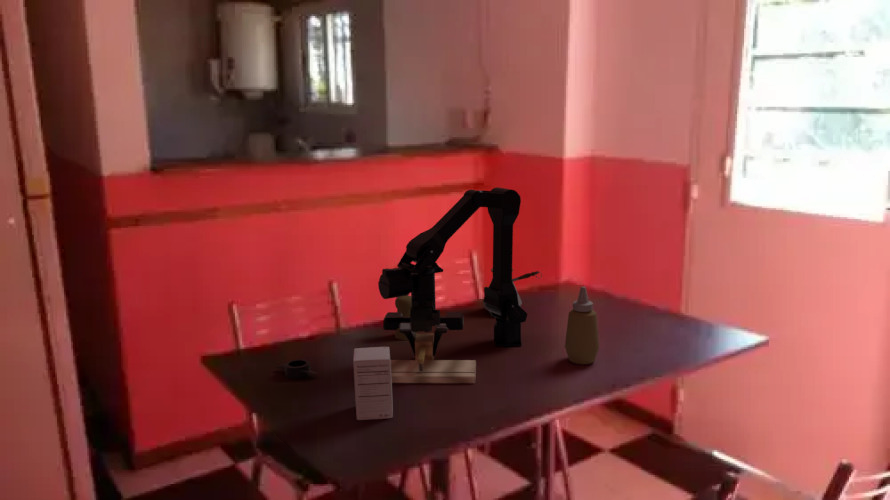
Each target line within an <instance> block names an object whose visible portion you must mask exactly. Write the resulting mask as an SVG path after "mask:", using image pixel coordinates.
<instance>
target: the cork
mask: <svg viewBox="0 0 890 500" xmlns="http://www.w3.org/2000/svg"><path fill="white" fill-rule="evenodd" d="M394 305H395V308H396V312H402V317H410V310H411V295H407V296H401V297H395V301H394ZM399 330H400V327H399V328H398V329H397V330H394V331H395V332H394V338H395V339H396V340H400V341H409V340H408V338H407V337H406V335H405V334H404V333H400V332H399ZM417 333H418V332H415V338H416V336H417Z"/></svg>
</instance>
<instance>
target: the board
mask: <svg viewBox="0 0 890 500" xmlns="http://www.w3.org/2000/svg"><path fill="white" fill-rule="evenodd" d="M390 361H391V378H392V384H476V375H477V374H476V372H477V371H476V370H477V360H476V359H473V360H471V359H462V360H461V359H434V360H424V362H423V371H419V364H418V360H415V359H402V360H401V359H390Z"/></svg>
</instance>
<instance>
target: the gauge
mask: <svg viewBox="0 0 890 500" xmlns="http://www.w3.org/2000/svg"><path fill="white" fill-rule="evenodd" d="M434 334H435V332H434V333H430V332H425V333H423V332H422V333H420V332H419V333H418V332H417V336H416V340H415V355H414V356H415V358H414V360H418V364H419V371H423V362H424V360H435V356H433V344H434Z"/></svg>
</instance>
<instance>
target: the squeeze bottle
mask: <svg viewBox="0 0 890 500" xmlns="http://www.w3.org/2000/svg"><path fill="white" fill-rule="evenodd" d="M598 327H599V326H598V314H597V312H596V311H595V310H594V303H593V301H591V300H589V297H588V292H587V288H586V286H580V289H579V294H578V296H577V299H576V300H574V301H573V302H572V309H571V310H569V312H568V316H567V325H566V332H565V334H566V335H565V342H564V348H565V352H566V355H567V357H568V360H569V362H571V363H573V364H577V365H590V364H593V363H594V362H595V360H596V357H597V355H598V352H599V349H600V339H599V338H600V337H599V328H598Z"/></svg>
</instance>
